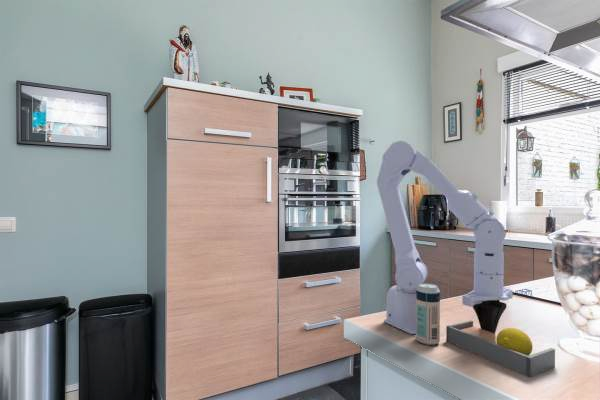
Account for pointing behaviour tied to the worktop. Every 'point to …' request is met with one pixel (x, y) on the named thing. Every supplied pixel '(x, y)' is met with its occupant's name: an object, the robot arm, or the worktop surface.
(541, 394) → the worktop surface
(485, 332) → the tile
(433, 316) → the beer can
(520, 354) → the fence
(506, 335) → the lemon
